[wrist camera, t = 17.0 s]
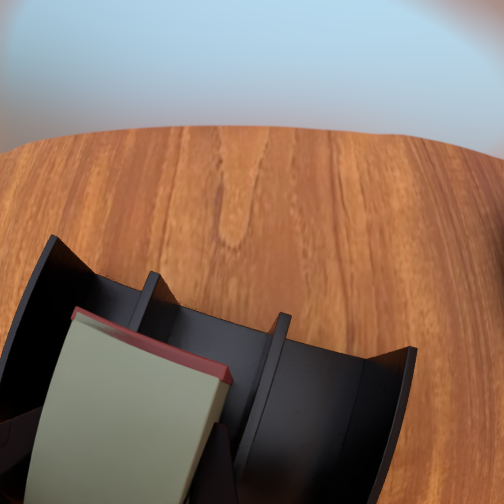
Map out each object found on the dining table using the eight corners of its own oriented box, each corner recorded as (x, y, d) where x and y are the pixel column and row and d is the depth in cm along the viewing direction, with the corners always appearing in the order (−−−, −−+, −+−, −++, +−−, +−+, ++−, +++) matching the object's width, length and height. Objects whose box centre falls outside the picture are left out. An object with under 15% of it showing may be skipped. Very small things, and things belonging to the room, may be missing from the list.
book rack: (369, 361, 17) (418, 347, 12) (309, 542, 12) (335, 588, 7) (93, 274, 18) (51, 233, 13) (36, 442, 13) (-21, 449, 8)
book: (234, 380, 15) (228, 365, 5) (198, 487, 12) (145, 608, 3) (174, 359, 15) (75, 305, 5) (139, 464, 12) (17, 539, 3)
